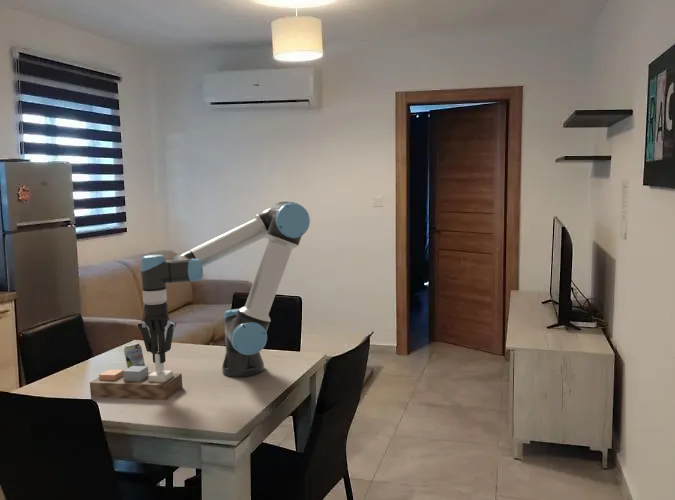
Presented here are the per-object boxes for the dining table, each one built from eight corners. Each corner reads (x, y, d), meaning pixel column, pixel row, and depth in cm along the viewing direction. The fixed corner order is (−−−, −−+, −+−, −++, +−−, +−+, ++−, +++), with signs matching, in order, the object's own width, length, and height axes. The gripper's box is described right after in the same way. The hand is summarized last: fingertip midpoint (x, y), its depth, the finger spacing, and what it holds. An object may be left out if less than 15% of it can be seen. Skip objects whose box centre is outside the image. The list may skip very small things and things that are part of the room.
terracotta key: (124, 381, 217) (124, 369, 217) (115, 386, 212) (114, 375, 211) (109, 380, 219) (108, 369, 218) (99, 386, 213) (99, 374, 212)
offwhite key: (173, 382, 214) (172, 370, 213) (165, 387, 208) (164, 375, 207) (157, 381, 215) (156, 370, 214) (149, 387, 209) (148, 375, 209)
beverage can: (141, 378, 228) (138, 346, 227) (122, 378, 230) (119, 345, 228) (149, 373, 234) (147, 341, 233) (131, 372, 236) (129, 341, 235)
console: (182, 387, 217) (181, 373, 216) (166, 400, 205) (165, 385, 204) (111, 385, 222) (109, 371, 222) (91, 397, 211) (89, 382, 210)
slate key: (148, 377, 215) (147, 366, 215) (140, 383, 210) (139, 371, 209) (133, 377, 217) (132, 365, 216) (124, 382, 211) (123, 371, 210)
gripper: (178, 300, 210) (183, 369, 213) (142, 299, 213) (147, 368, 216) (168, 304, 203) (173, 376, 206) (131, 304, 206) (136, 375, 209)
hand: (160, 372), depth 211 cm, fingers closed
